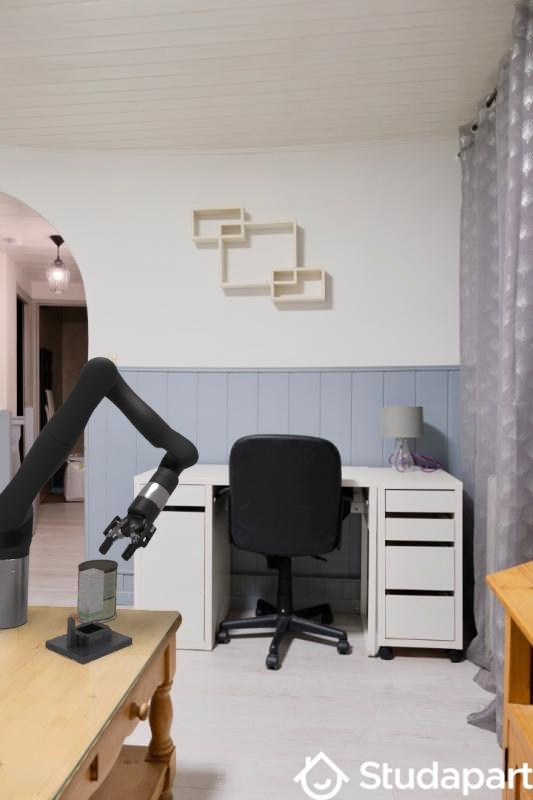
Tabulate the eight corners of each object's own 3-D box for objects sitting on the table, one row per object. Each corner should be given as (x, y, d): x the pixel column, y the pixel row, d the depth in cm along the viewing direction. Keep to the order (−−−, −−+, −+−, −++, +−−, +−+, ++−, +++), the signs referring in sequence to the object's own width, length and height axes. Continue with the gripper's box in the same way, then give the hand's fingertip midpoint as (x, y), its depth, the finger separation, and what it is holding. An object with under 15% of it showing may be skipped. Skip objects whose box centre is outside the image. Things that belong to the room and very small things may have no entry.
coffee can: (68, 617, 153) (70, 564, 153) (100, 607, 161) (101, 557, 161) (92, 627, 147) (94, 571, 147) (124, 616, 155) (126, 563, 155)
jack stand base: (45, 647, 133) (46, 611, 134) (94, 629, 145) (95, 596, 145) (82, 664, 125) (84, 625, 125) (132, 644, 137) (133, 608, 137)
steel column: (77, 617, 135) (79, 571, 135) (91, 613, 138) (93, 568, 138) (88, 622, 132) (90, 575, 133) (102, 617, 136) (104, 571, 136)
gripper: (123, 491, 152) (85, 542, 142) (161, 497, 143) (123, 552, 134) (138, 509, 156) (102, 559, 146) (175, 516, 148) (140, 570, 138)
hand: (112, 555), depth 140 cm, fingers open, 8 cm apart
